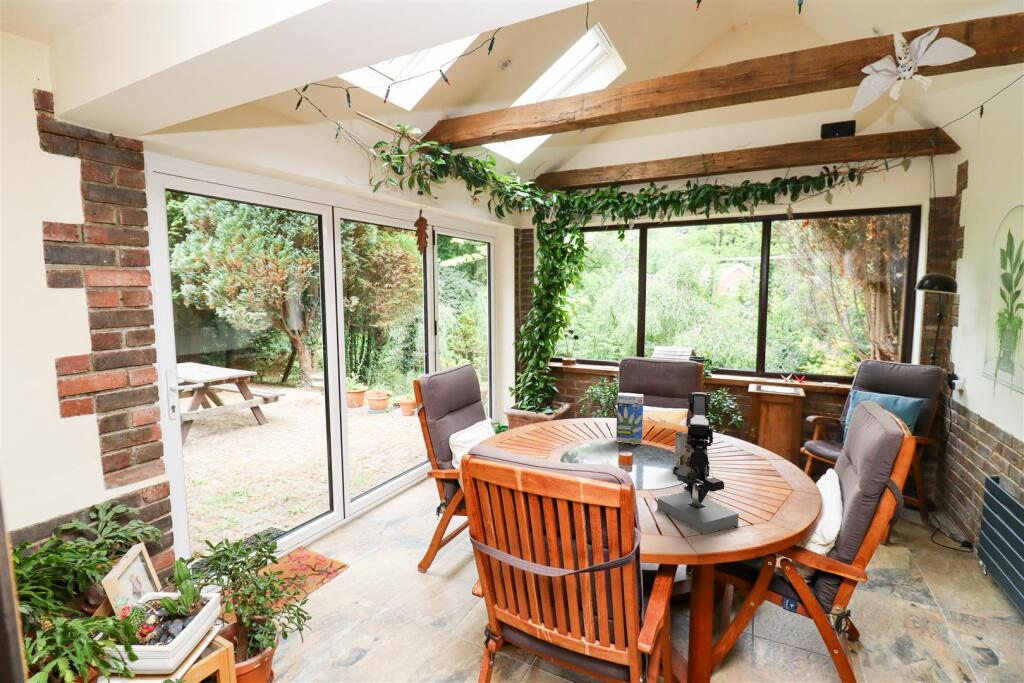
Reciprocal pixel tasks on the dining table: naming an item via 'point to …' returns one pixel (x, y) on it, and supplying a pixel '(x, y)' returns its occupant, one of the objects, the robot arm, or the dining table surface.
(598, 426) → the dining table surface
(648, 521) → the dining table surface
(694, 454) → the robot arm
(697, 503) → the steel peg
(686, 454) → the coffee box
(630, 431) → the string lights box
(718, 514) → the hole block
